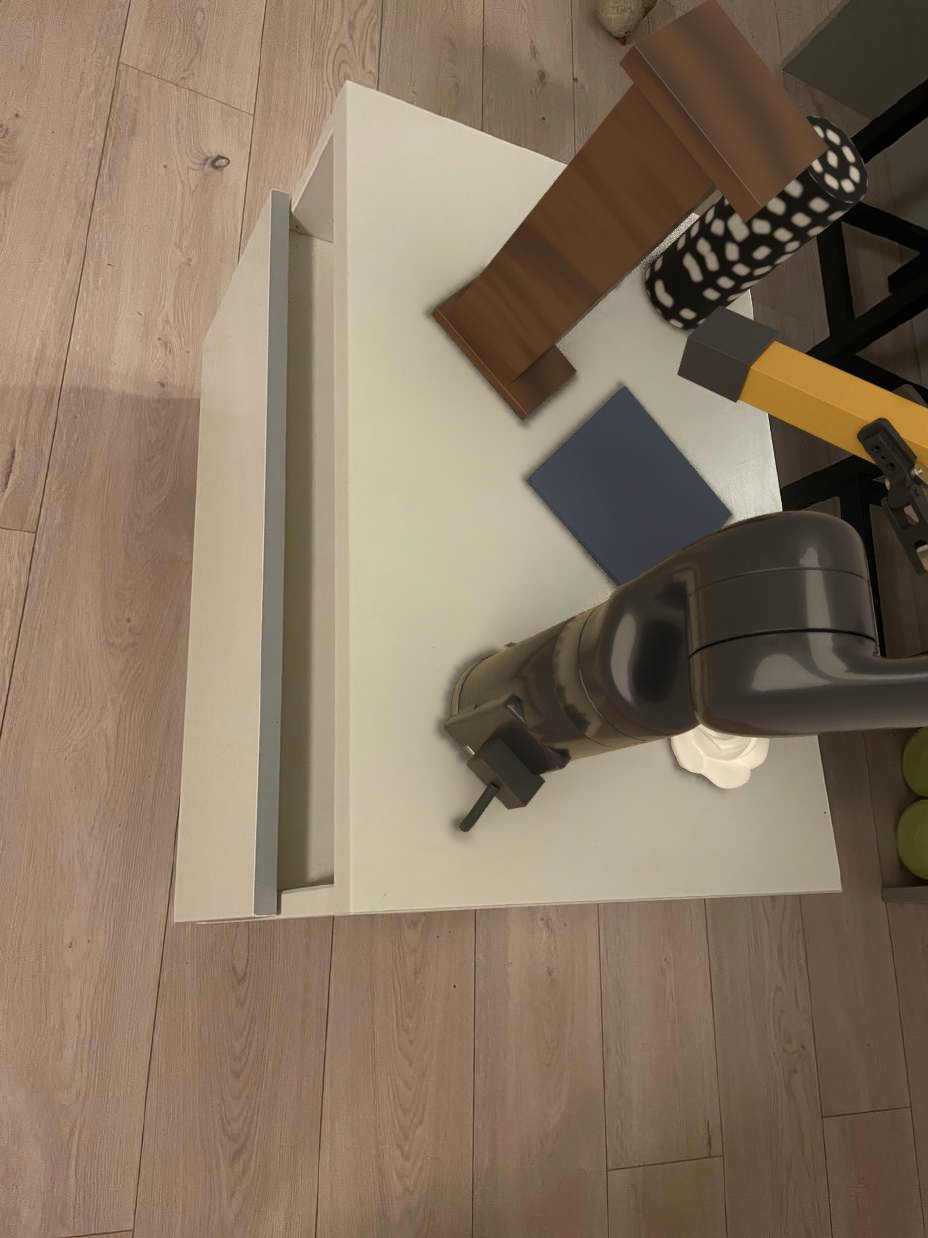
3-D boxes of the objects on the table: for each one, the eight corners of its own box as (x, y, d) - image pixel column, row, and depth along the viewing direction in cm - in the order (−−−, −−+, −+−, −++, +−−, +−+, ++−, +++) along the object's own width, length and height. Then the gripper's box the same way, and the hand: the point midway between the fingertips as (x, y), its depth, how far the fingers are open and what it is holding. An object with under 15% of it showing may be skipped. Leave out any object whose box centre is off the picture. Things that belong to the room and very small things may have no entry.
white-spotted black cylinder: (706, 343, 94) (867, 219, 77) (641, 307, 91) (793, 170, 74) (712, 280, 98) (868, 148, 81) (649, 243, 95) (797, 98, 78)
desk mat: (645, 618, 81) (649, 616, 81) (526, 480, 79) (529, 477, 79) (728, 516, 89) (732, 513, 89) (621, 388, 87) (625, 385, 87)
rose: (801, 774, 78) (717, 794, 74) (763, 780, 82) (681, 799, 78) (770, 660, 80) (686, 672, 76) (734, 671, 84) (652, 683, 79)
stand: (515, 426, 80) (762, 207, 55) (423, 318, 79) (633, 43, 54) (577, 371, 85) (829, 147, 60) (491, 268, 84) (713, -5, 59)
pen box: (932, 497, 63) (956, 459, 60) (676, 375, 70) (687, 335, 67) (957, 457, 66) (981, 419, 63) (707, 343, 72) (719, 304, 69)
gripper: (1109, 516, 66) (963, 331, 64) (1053, 641, 59) (888, 437, 57) (1010, 551, 73) (875, 383, 71) (949, 668, 65) (797, 485, 64)
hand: (882, 409), depth 64 cm, fingers closed on pen box, 4 cm apart
